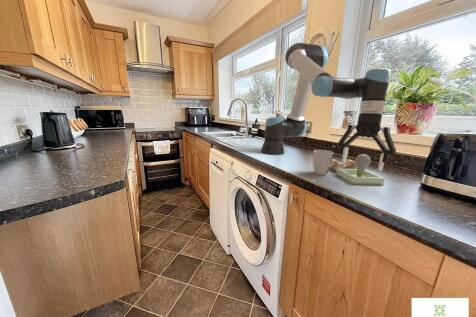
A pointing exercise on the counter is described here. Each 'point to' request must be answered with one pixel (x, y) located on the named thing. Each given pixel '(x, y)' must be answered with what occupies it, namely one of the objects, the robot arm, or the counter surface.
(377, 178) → the dish
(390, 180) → the counter surface
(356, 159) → the light bulb
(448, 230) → the counter surface
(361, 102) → the robot arm
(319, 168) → the cup
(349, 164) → the holder
